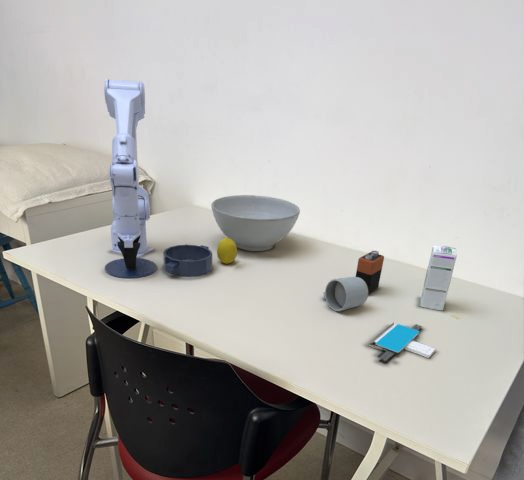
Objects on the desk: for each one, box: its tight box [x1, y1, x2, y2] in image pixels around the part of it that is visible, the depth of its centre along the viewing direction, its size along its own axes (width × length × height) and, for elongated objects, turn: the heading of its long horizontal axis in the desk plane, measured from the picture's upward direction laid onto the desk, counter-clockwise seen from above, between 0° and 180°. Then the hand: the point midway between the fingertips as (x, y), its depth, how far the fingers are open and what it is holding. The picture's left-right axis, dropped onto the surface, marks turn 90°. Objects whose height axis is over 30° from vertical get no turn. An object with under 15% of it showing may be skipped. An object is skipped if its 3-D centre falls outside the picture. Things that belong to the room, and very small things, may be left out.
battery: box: [355, 250, 385, 295], centre depth 129 cm, size 4×7×10 cm, turn 143°
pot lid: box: [104, 257, 158, 279], centre depth 131 cm, size 13×13×5 cm
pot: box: [162, 244, 213, 278], centre depth 134 cm, size 13×18×5 cm
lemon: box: [216, 236, 238, 265], centre depth 138 cm, size 6×6×8 cm
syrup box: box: [419, 244, 458, 311], centre depth 122 cm, size 6×6×14 cm
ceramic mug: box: [322, 276, 369, 312], centre depth 121 cm, size 11×8×8 cm
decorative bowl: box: [211, 194, 301, 252], centre depth 154 cm, size 27×27×12 cm
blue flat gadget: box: [367, 322, 436, 364], centre depth 106 cm, size 20×12×2 cm, turn 143°
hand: (130, 265), depth 131 cm, fingers open, 4 cm apart
